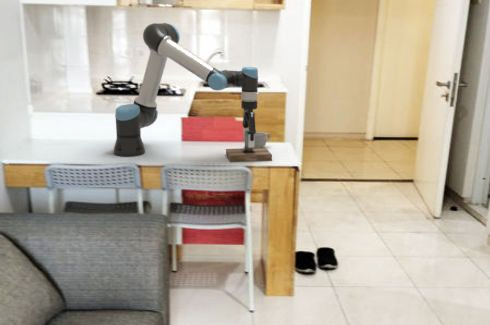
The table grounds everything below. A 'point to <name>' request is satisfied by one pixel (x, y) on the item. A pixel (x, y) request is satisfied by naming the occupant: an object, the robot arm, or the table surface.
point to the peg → (247, 149)
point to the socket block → (248, 155)
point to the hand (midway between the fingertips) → (248, 144)
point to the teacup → (260, 139)
